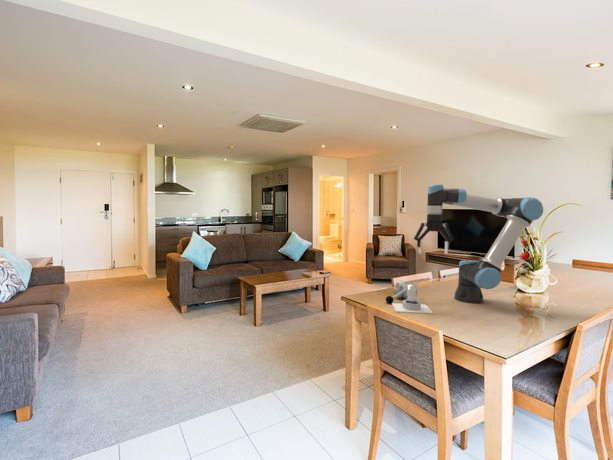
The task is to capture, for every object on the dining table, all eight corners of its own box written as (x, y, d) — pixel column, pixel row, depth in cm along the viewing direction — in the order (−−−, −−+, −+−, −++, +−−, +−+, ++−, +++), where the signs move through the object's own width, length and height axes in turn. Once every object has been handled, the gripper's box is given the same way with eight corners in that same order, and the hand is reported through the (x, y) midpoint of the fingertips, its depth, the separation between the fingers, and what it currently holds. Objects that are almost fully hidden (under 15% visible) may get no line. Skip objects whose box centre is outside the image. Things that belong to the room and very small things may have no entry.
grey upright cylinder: (417, 309, 168) (418, 286, 167) (407, 308, 168) (408, 285, 168) (414, 305, 174) (415, 283, 173) (405, 305, 174) (405, 283, 174)
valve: (407, 296, 195) (418, 294, 181) (383, 310, 191) (392, 309, 176) (398, 280, 197) (408, 277, 182) (374, 294, 193) (382, 292, 178)
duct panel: (425, 305, 177) (425, 298, 177) (432, 313, 163) (433, 306, 163) (391, 304, 178) (391, 297, 178) (396, 312, 164) (396, 305, 164)
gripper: (456, 214, 176) (454, 253, 177) (408, 213, 178) (407, 252, 179) (461, 214, 168) (459, 255, 170) (412, 213, 170) (411, 254, 172)
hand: (433, 253), depth 174 cm, fingers open, 13 cm apart
